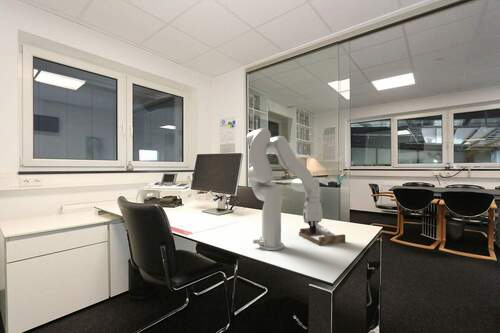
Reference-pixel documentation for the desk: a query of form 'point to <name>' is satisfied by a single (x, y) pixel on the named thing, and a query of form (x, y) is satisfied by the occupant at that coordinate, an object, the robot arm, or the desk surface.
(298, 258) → the desk surface
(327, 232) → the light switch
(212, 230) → the desk surface
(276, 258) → the desk surface
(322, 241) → the walnut open frame
